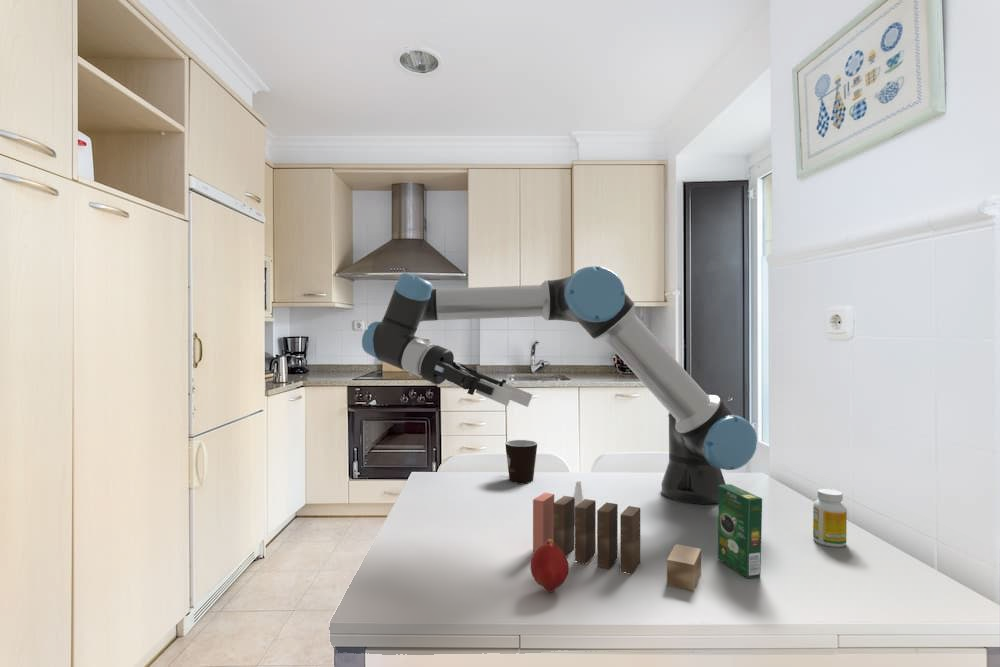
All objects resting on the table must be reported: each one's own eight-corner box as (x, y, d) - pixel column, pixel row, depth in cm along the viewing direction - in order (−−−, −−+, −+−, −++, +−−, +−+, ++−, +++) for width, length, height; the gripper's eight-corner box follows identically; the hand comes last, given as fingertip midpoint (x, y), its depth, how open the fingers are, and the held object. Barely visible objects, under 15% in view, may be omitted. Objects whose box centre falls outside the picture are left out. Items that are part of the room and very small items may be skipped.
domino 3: (574, 561, 92) (574, 506, 92) (584, 551, 96) (584, 498, 96) (585, 564, 91) (585, 508, 91) (595, 553, 95) (595, 500, 95)
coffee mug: (535, 485, 138) (535, 447, 138) (502, 483, 140) (502, 445, 140) (540, 474, 150) (540, 438, 150) (510, 472, 151) (510, 437, 151)
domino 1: (532, 552, 96) (533, 499, 96) (544, 543, 100) (544, 492, 100) (543, 554, 95) (543, 501, 95) (554, 545, 99) (554, 494, 99)
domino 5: (620, 571, 88) (620, 514, 88) (628, 560, 92) (628, 505, 92) (632, 574, 87) (632, 516, 87) (640, 563, 91) (640, 507, 91)
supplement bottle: (806, 539, 102) (806, 489, 102) (824, 535, 104) (824, 486, 104) (835, 550, 97) (835, 497, 97) (853, 545, 99) (853, 493, 99)
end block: (667, 585, 83) (667, 559, 83) (675, 568, 89) (675, 544, 89) (693, 591, 81) (693, 564, 81) (701, 573, 87) (701, 548, 87)
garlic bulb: (576, 513, 119) (574, 476, 119) (600, 517, 114) (597, 479, 115) (558, 520, 114) (556, 482, 115) (582, 524, 110) (579, 485, 110)
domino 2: (553, 557, 94) (553, 503, 94) (564, 547, 98) (564, 495, 98) (564, 559, 93) (564, 504, 93) (574, 549, 97) (574, 497, 97)
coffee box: (763, 578, 86) (763, 496, 86) (748, 580, 85) (748, 498, 85) (731, 557, 93) (731, 483, 93) (716, 559, 93) (716, 484, 93)
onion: (528, 582, 84) (528, 532, 84) (564, 581, 84) (564, 531, 84) (533, 601, 78) (533, 546, 78) (572, 599, 79) (572, 545, 79)
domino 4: (597, 566, 90) (597, 510, 90) (606, 556, 94) (606, 502, 94) (608, 569, 89) (608, 512, 89) (617, 558, 93) (617, 504, 93)
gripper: (447, 381, 122) (530, 417, 114) (391, 374, 98) (491, 418, 91) (459, 351, 122) (543, 385, 115) (406, 336, 99) (507, 377, 91)
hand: (520, 399), depth 103 cm, fingers open, 13 cm apart
